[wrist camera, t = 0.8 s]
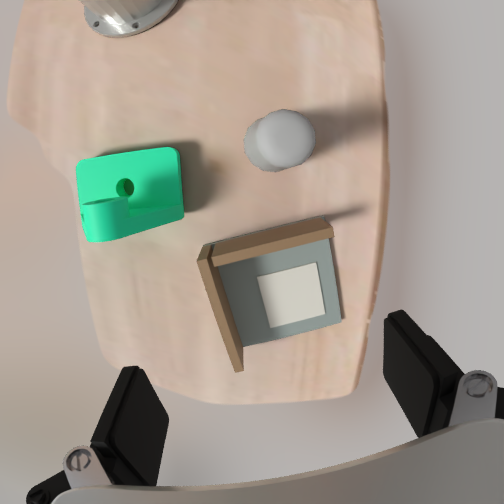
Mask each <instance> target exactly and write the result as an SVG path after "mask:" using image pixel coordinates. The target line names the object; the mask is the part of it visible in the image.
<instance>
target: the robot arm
mask: <svg viewBox="0 0 504 504" xmlns="http://www.w3.org/2000/svg"><path fill="white" fill-rule="evenodd" d="M79 1H80V2H81V3H82V4H84V5H85V6H84V15H85V20H86V22H87V23H88V25H89V26H90V27H91V28H92V29H93V30H94V31H95V32H97V33H98V34H100V35H103V36H106V37H112V38H118V37H127V36H132V35H135V34H138V33H141V32H143V31H145V30H147V29H149V28H151V27H153V26H154V25H156V24H157V23H159V22H160V21H161V20H162V19H163V18H165V17H166V16H167V15H168V14H169V13H170V12H171V10H172V9H173V8H174V7H175V5H176V3H177V2H178V0H79ZM137 27H138V28H137ZM383 374H384V378H385V380H386V381H387V383H388V385H389V387H390V389H391V390H392V392H393V394H394V395H395V397H396V399H397V401H398V403H399V404H400V406H401V408H402V410H403V411H404V413H405V415H406V417H407V418H408V420H409V422H410V424H411V426H412V428H413V429H414V431H415V433H416V435H417V437H418V439H415V440H413V441H410V442H407V443H405V444H402V445H399V446H396V447H394V448H391V449H388V450H385V451H382V452H379V453H376V454H373V455H370V456H367V457H364V458H360V459H357V460H353V461H350V462H346V463H343V464H339V465H336V466H331V467H327V468H323V469H319V470H314V471H310V472H305V473H300V474H295V475H290V476H284V477H279V478H272V479H266V480H259V481H251V482H243V483H233V484H222V485H207V486H182V487H181V486H173V487H171V486H165V487H164V486H156V484H157V479H158V474H159V468H160V464H161V458H162V453H163V448H164V443H165V439H166V434H167V429H168V424H169V417H168V414H167V413H166V410H165V409H164V407H163V405H162V403H161V401H160V400H159V398H158V396H157V394H156V392H155V390H154V389H153V387H152V385H151V383H150V381H149V379H148V377H147V375H146V373H145V371H144V370H143V369H140V368H139V367H138V366H128V367H123V369H122V370H121V373H120V375H119V377H118V379H117V381H116V383H115V386H114V388H113V390H112V392H111V395H110V397H109V399H108V401H107V404H106V406H105V408H104V410H103V413H102V415H101V417H100V420H99V422H98V425H97V427H96V429H95V431H94V434H93V436H92V439H91V445H90V447H88V446H77V447H75V448H73V449H71V450H70V451H69V452H68V453H67V454H66V455H65V457H64V459H63V468H64V470H63V471H61V472H59V473H57V474H56V475H54V476H52V477H51V478H49V479H47V480H45V481H43V482H41V483H40V484H38V485H36V486H34V487H33V488H31V490H30V491H29V492H28V494H27V497H26V503H27V504H504V388H500V387H497V381H496V379H495V378H494V377H493V376H492V375H491V374H490V373H488V372H486V371H481V370H475V371H471V372H468V373H467V374H464V373H463V372H462V371H461V369H460V368H459V367H458V366H457V365H456V364H455V362H453V360H452V359H451V358H450V357H449V356H448V355H447V353H446V352H445V351H444V350H443V349H442V348H441V347H440V346H439V345H438V343H437V342H436V341H435V340H434V339H433V338H432V337H431V336H429V335H426V334H425V333H424V332H423V331H422V330H421V328H420V327H419V326H418V325H417V324H416V323H415V322H414V321H413V320H412V319H411V318H410V317H409V315H408V314H407V313H406V312H405V311H404V310H398V311H395V312H392V313H389V314H388V318H386V319H384V360H383Z"/></svg>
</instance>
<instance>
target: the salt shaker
mask: <svg viewBox="0 0 504 504" xmlns="http://www.w3.org/2000/svg"><path fill="white" fill-rule="evenodd" d="M315 144H316V139H315V130H314V128H313V127H312V125H311V123H310V121H309V120H308V118H306V117H305V116H303V115H302V114H300V113H298V112H297V111H291V110H286V109H281V110H278V111H274V112H271V113H269V114H268V115H267V116H266V117H264V118H261V119H258V120H256V121H255V122H254V123H253V124H252V125H251V126H250V127H249V128H248V129H247V132H246V135H245V138H244V149H245V154H246V155H247V157H248V158H249V160H250V162H251V163H252V164H253V165H255V166H256V167H258V168H259V169H261V170H263V171H270V172H278V171H281V170H284V169H288V168H291V167H294V166H297V165H301V164H302V163H303V162H304V161H305V160H306V159H307V158H308V157H309V156H310V155H311V154H312V151H313V149H314V146H315Z"/></svg>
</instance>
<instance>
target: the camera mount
mask: <svg viewBox="0 0 504 504" xmlns="http://www.w3.org/2000/svg"><path fill="white" fill-rule="evenodd" d="M76 177H77V187H78V196H79V205H80V213H81V220H82V227H83V230H84V233H85V235H86V238H87V241H89V242H105V241H111V240H116V239H120V238H123V237H126V236H129V235H132V234H135V233H139V232H142V231H145V230H148V229H151V228H154V227H158V226H161V225H164V224H167V223H171V222H174V221H177V220H181V219H182V218H183V217H184V206H183V193H182V180H181V165H180V154H179V152H178V151H177V150H176V149H175V148H172V147H162V148H154V149H146V150H139V151H132V152H125V153H119V154H112V155H106V156H100V157H95V158H89V159H84V160H81V161H80V162H79V163H78V164H77V166H76ZM127 178H128V179H130V180H131V181H132V182H133V184H134V192H133V194H132V195H128V194H127V193H126V192H125V190H124V182H125V180H126V179H127Z"/></svg>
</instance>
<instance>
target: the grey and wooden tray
mask: <svg viewBox="0 0 504 504" xmlns="http://www.w3.org/2000/svg"><path fill="white" fill-rule="evenodd" d="M332 237H334V232H333V227H332V226H331V225H329V224H328V223H327V222H326V221H325V217H324V216H323V215H322V216H318V217H314V218H310V219H306V220H302V221H298V222H294V223H290V224H285V225H281V226H277V227H273V228H269V229H265V230H261V231H257V232H253V233H249V234H245V235H241V236H237V237H234V238H230V239H226V240H222V241H218V242H214V243H210V244H206V245H203V247H202V249H201V252H200V254H199V257H198V259H197V264H198V267H199V270H200V273H201V276H202V279H203V282H204V285H205V288H206V291H207V294H208V297H209V300H210V303H211V306H212V309H213V312H214V315H215V318H216V321H217V324H218V327H219V329H220V332H221V335H222V338H223V341H224V343H225V346H226V349H227V352H228V355H229V357H230V360H231V363H232V365H233V368H234V371H235V372H241V371H244V367H243V347H245V346H250V345H254V344H259V343H263V342H267V341H272V340H276V339H280V338H284V337H288V336H292V335H296V334H300V333H304V332H308V331H312V330H315V329H319V328H323V327H326V326H330V325H333V324H337V323H340V322H342V321H341V314H340V306H339V299H338V292H337V286H336V279H335V273H334V267H333V261H332V255H331V249H330V243H329V238H332Z"/></svg>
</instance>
